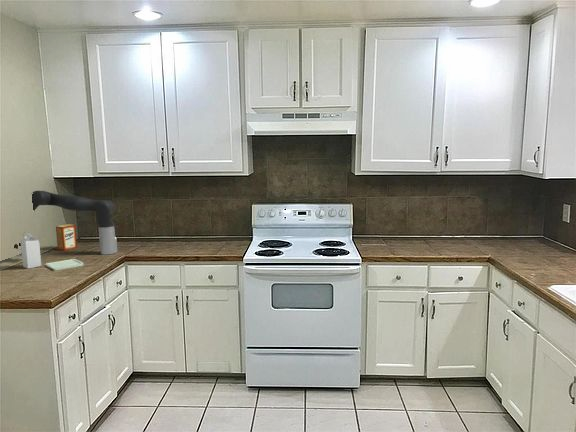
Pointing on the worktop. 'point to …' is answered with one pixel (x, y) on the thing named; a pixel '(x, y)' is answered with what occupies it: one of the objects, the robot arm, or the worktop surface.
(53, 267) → the tray
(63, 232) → the baking soda box
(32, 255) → the milk carton
